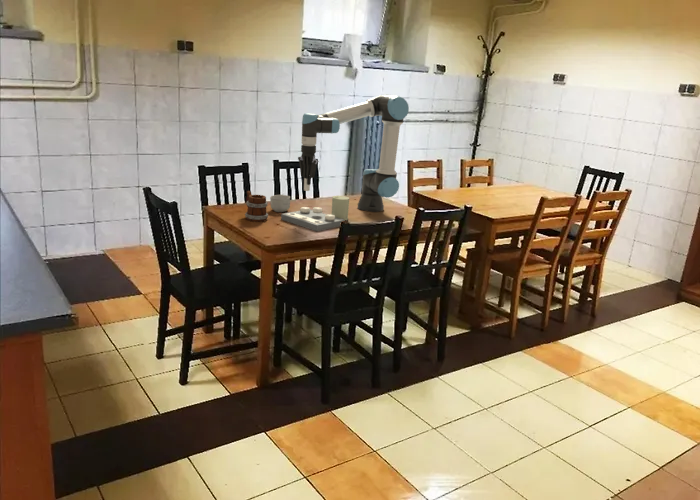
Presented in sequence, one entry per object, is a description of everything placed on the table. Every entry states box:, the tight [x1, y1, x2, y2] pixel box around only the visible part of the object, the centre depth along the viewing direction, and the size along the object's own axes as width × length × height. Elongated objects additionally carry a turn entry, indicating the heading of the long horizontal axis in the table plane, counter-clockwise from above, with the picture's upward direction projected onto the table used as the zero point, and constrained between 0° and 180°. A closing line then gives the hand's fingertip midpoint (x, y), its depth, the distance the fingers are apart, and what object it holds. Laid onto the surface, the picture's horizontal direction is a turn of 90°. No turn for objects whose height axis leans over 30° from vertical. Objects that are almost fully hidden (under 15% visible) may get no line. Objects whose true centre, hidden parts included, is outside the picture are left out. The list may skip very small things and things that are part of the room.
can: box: [330, 195, 350, 221], centre depth 314 cm, size 9×9×12 cm
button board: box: [280, 208, 346, 232], centre depth 304 cm, size 20×26×3 cm
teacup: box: [269, 194, 291, 213], centre depth 323 cm, size 14×11×8 cm
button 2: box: [325, 213, 335, 221], centre depth 300 cm, size 5×5×2 cm
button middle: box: [312, 206, 323, 213], centre depth 305 cm, size 5×5×2 cm
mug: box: [244, 190, 269, 223], centre depth 301 cm, size 12×14×15 cm
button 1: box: [299, 206, 311, 213], centre depth 311 cm, size 5×5×2 cm
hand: (306, 190), depth 308 cm, fingers closed
